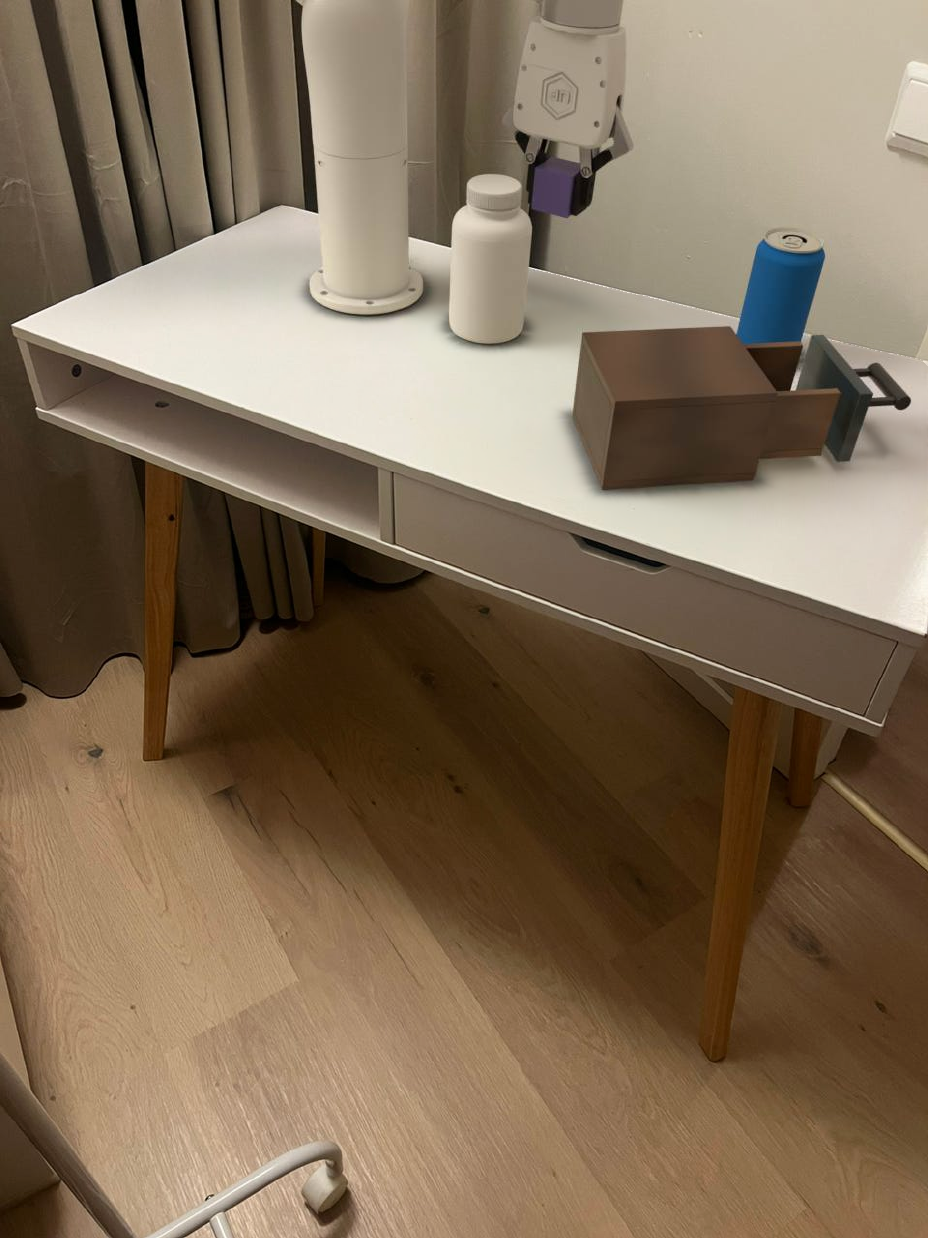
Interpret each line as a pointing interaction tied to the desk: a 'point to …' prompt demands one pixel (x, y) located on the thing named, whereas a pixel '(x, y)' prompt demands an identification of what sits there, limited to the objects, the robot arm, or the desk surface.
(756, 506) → the desk surface
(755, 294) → the beverage can
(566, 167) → the block
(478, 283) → the pill bottle
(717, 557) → the desk surface
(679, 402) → the wooden drawer cabinet
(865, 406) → the drawer
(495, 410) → the desk surface
